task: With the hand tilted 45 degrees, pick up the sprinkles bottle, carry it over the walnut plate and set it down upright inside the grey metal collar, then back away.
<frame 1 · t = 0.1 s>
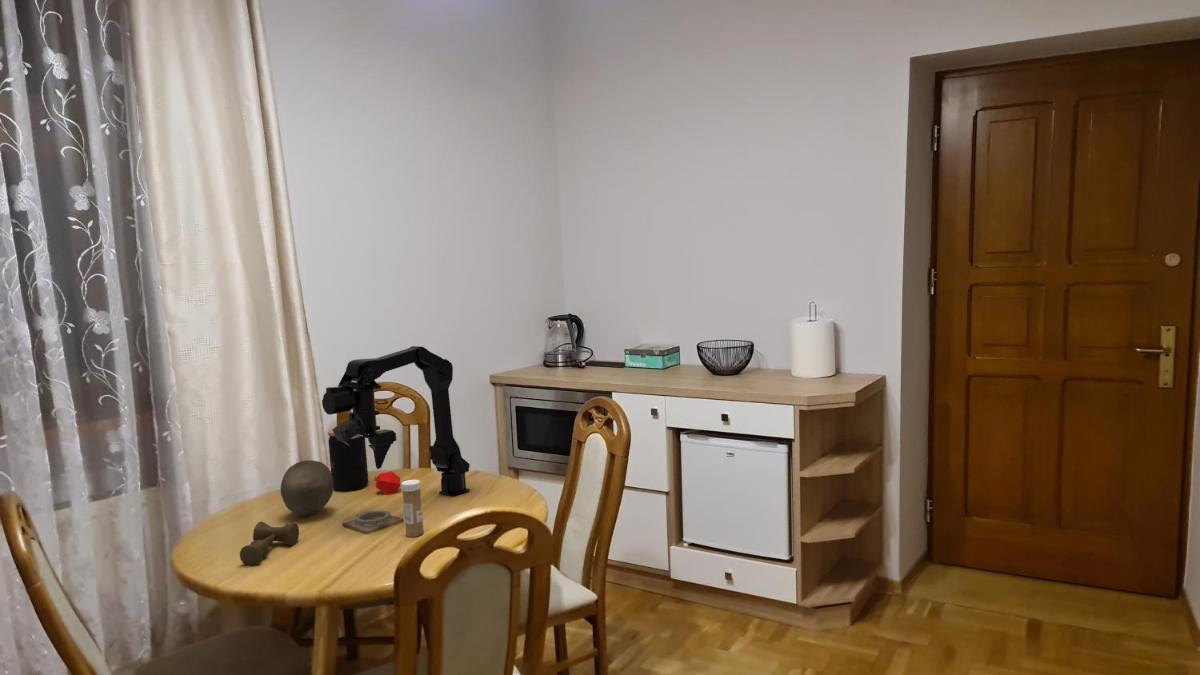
hand: (368, 466, 209), 15 cm above the table, tool pointing down, fingers open, 9 cm apart
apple: (388, 492, 236), on the table
hub seat: (373, 523, 207), on the table
sprinkles bottle: (414, 534, 198), on the table
coffee jar: (350, 487, 243), on the table
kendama: (270, 551, 192), on the table
dark grey ball: (310, 515, 218), on the table
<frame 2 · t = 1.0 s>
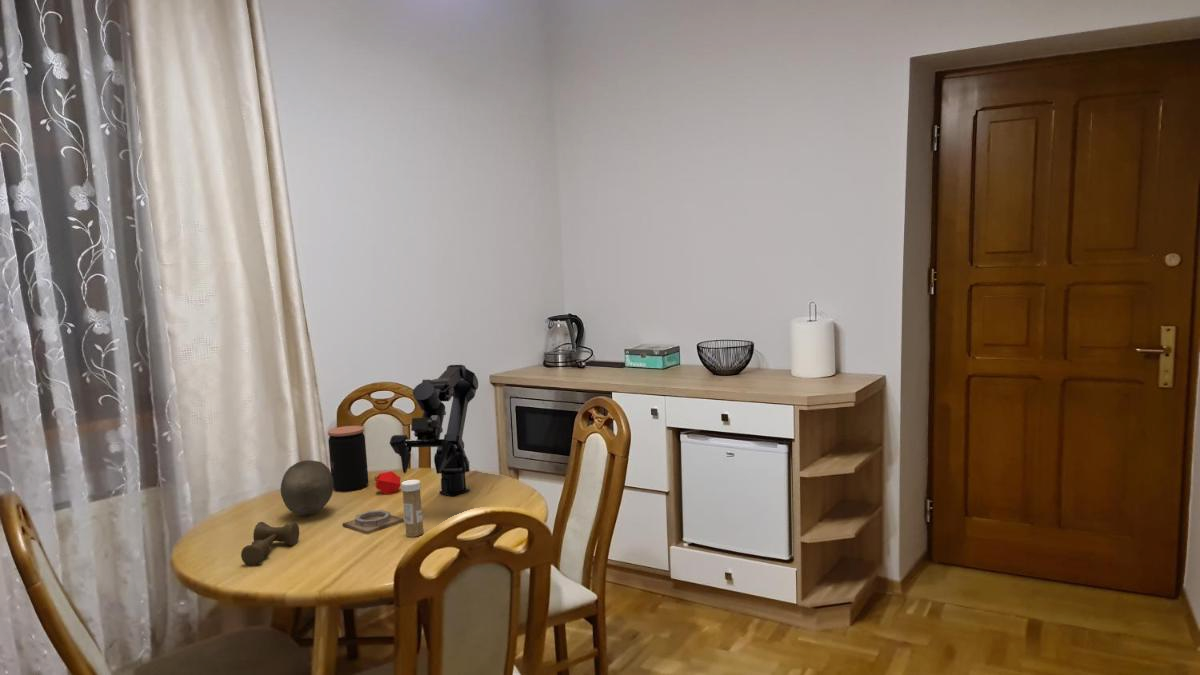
hand: (421, 472, 205), 13 cm above the table, tool tilted 45°, fingers open, 9 cm apart
nothing on the table moved.
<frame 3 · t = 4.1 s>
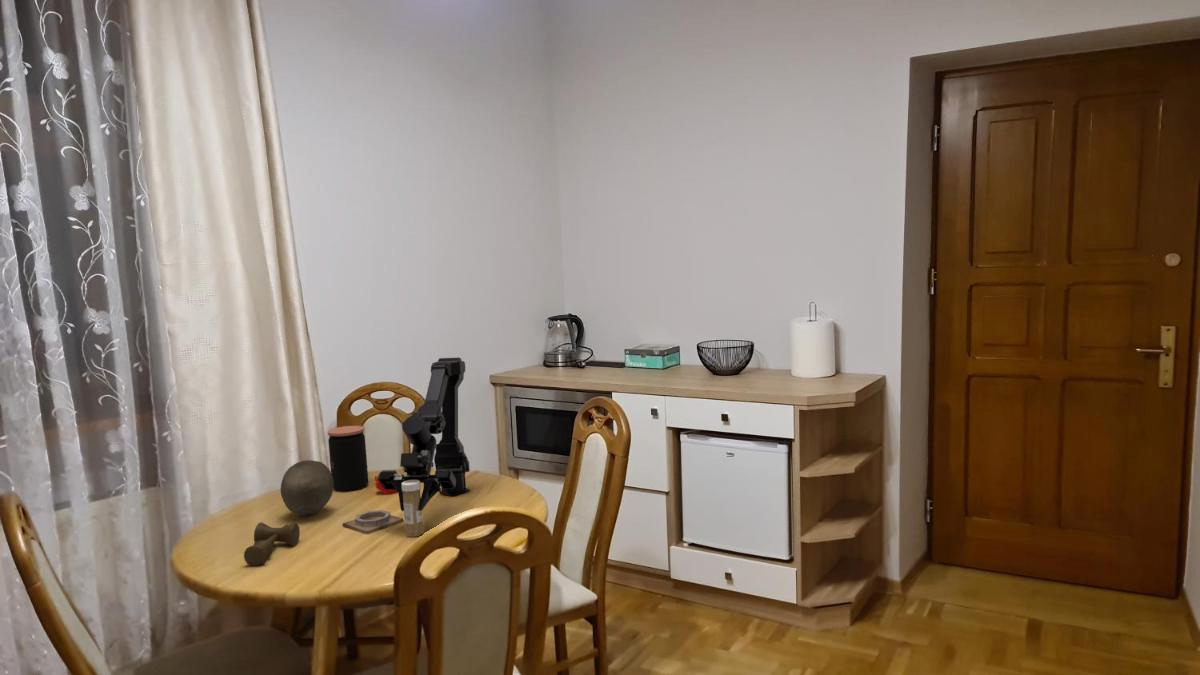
hand: (411, 510, 196), 7 cm above the table, tool tilted 45°, fingers closed on sprinkles bottle, 4 cm apart
sprinkles bottle: (414, 534, 198), on the table, touching gripper
everything else where it was.
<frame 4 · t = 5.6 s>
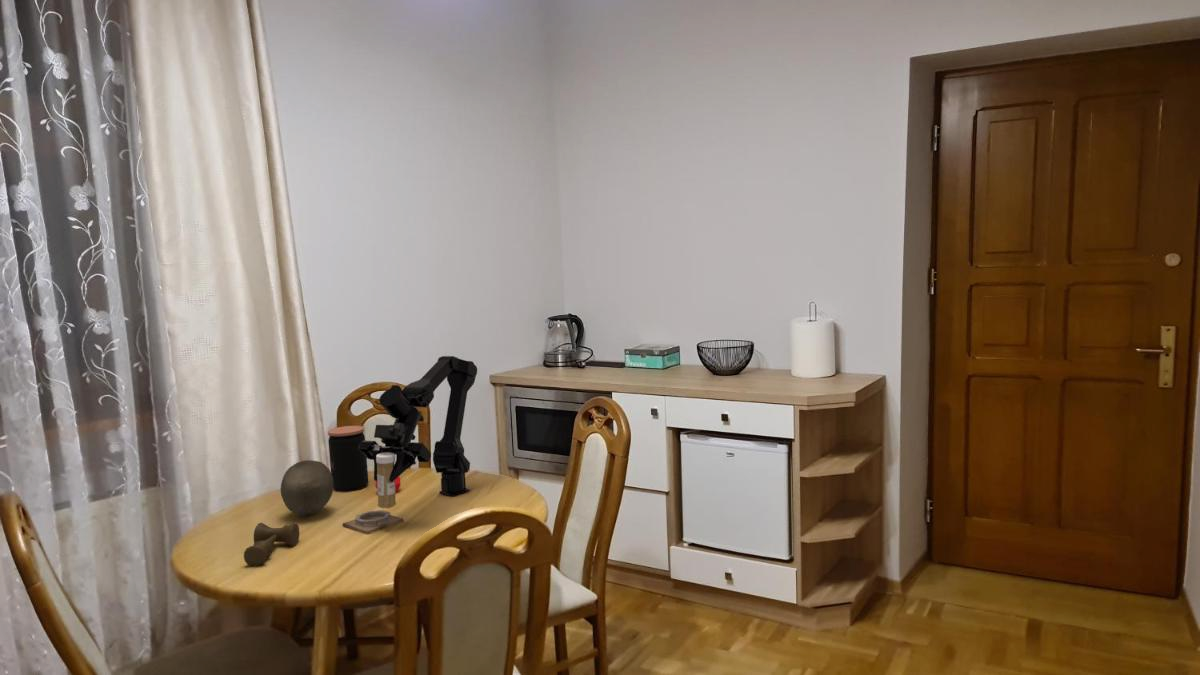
hand: (383, 480, 200), 13 cm above the table, tool tilted 45°, fingers closed on sprinkles bottle, 4 cm apart
sprinkles bottle: (386, 506, 202), point 6 cm above the table, touching gripper
everything else where it was.
when the fingers open (8 cm above the table, at t = 7.3 s): sprinkles bottle stays where it is, resting on hub seat.
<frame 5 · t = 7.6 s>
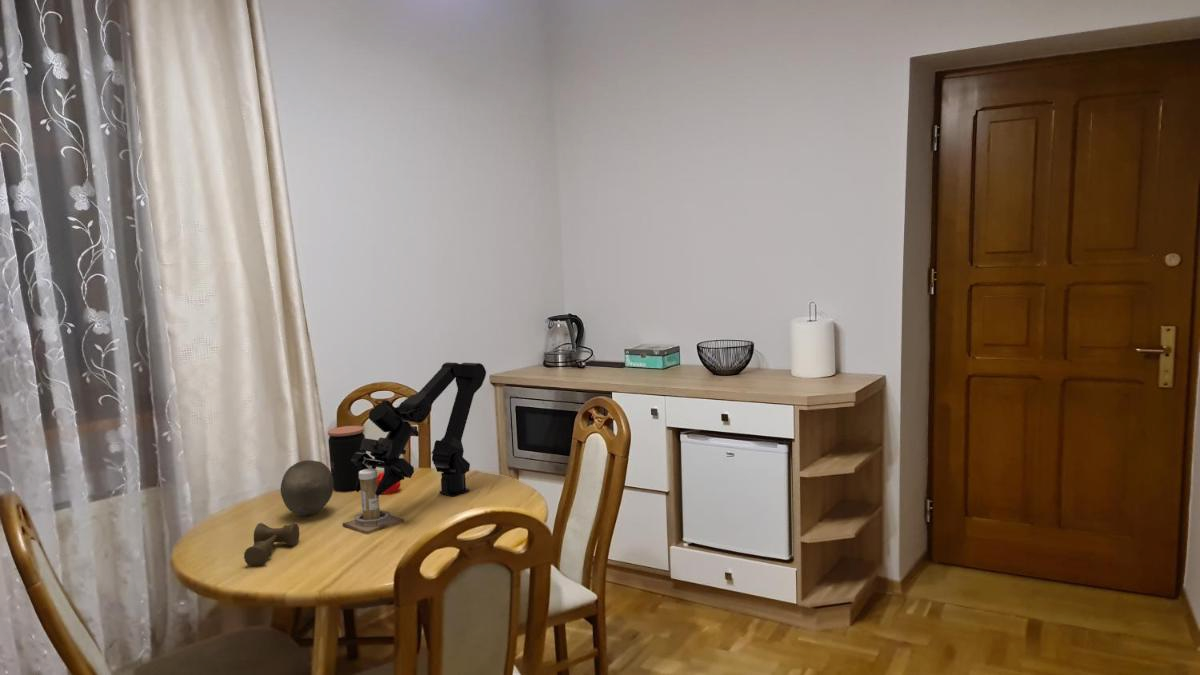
hand: (366, 493, 205), 9 cm above the table, tool tilted 45°, fingers open, 7 cm apart
sprinkles bottle: (372, 521, 208), point 1 cm above the table, touching hub seat
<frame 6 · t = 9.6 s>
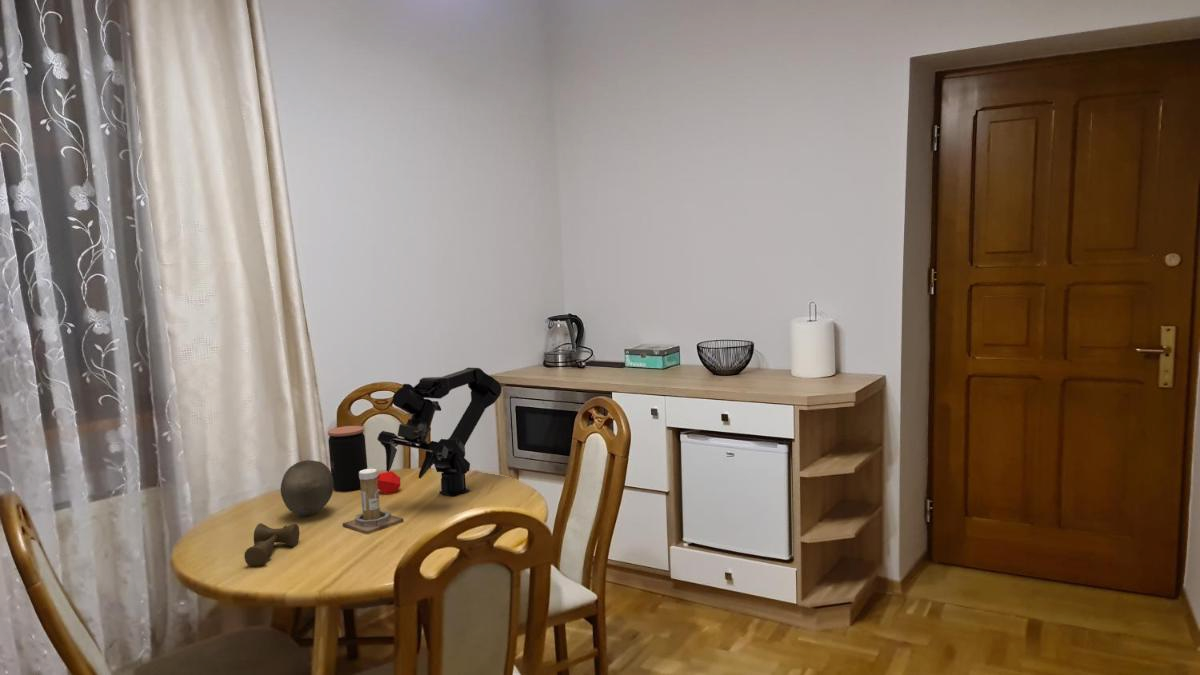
hand: (403, 474, 214), 11 cm above the table, tool tilted 35°, fingers open, 9 cm apart
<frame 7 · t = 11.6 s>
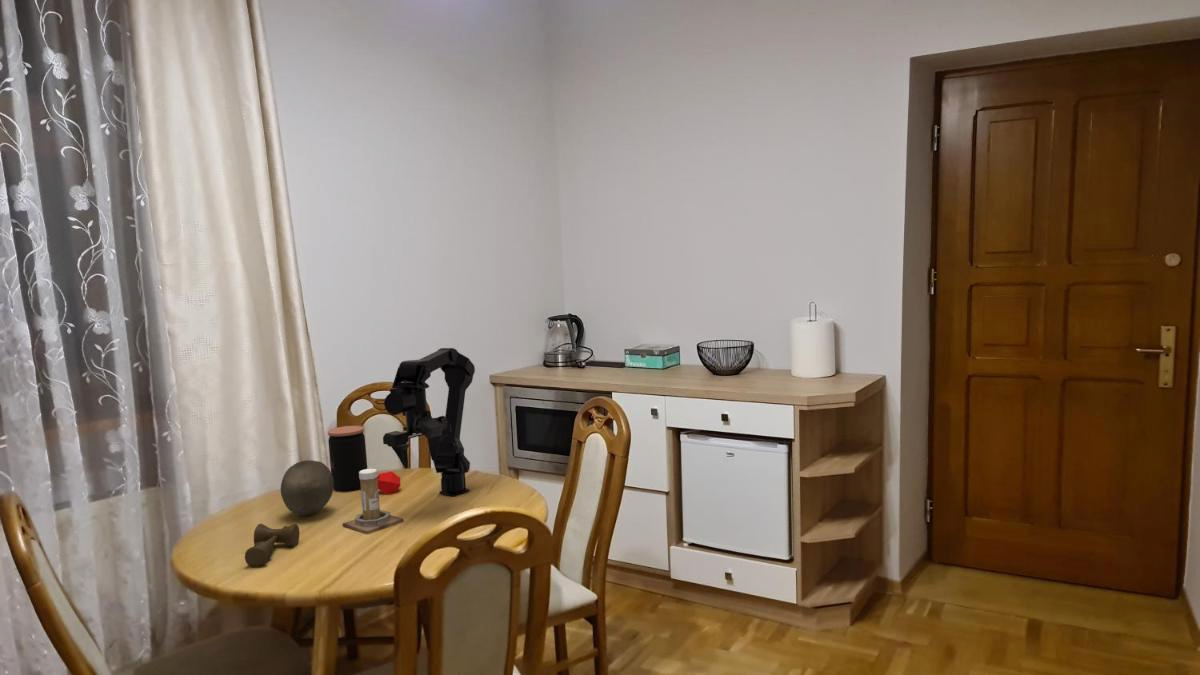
hand: (420, 464, 215), 13 cm above the table, tool pointing down, fingers open, 9 cm apart
at the end: sprinkles bottle 0.5 cm off-centre on the hub seat, point 0.6 cm above the hub seat's base; sprinkles bottle tilted 0°; the gripper is holding nothing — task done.
